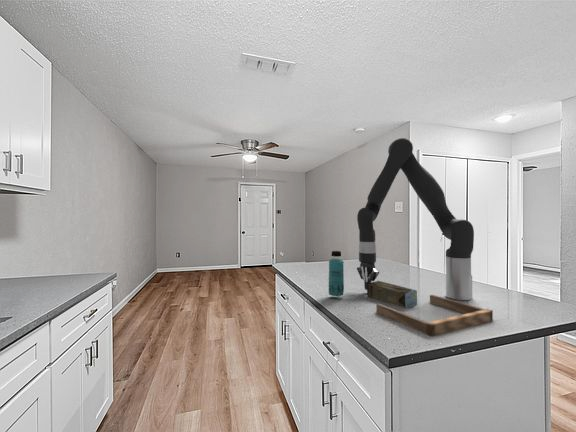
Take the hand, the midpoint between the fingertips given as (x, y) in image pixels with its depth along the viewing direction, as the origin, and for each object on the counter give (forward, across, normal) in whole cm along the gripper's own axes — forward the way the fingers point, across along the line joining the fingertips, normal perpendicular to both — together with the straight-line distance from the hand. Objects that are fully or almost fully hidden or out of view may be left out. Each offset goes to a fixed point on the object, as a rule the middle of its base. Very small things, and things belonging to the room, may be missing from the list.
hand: (367, 289), depth 127 cm
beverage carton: (+2, -13, -1) cm, 13 cm away
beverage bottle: (+2, 0, +17) cm, 17 cm away
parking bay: (+2, -33, 0) cm, 33 cm away
